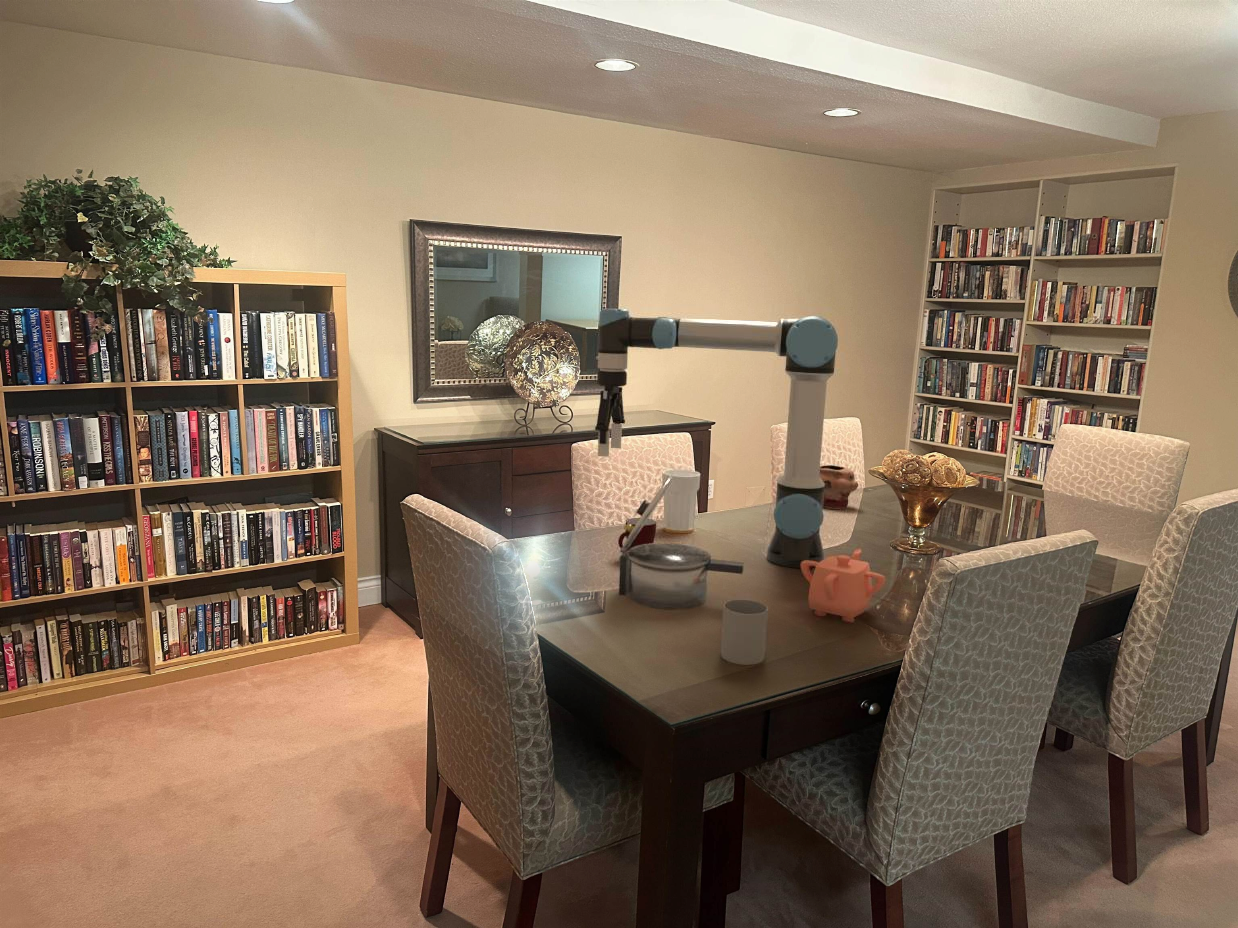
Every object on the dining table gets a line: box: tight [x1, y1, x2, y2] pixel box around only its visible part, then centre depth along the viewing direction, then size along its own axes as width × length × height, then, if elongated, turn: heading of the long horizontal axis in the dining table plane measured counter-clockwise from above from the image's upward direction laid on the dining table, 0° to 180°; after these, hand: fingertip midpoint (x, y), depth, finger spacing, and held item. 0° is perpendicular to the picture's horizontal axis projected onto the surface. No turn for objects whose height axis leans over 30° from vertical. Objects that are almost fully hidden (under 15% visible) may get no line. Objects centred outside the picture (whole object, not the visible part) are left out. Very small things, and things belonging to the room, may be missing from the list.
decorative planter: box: [819, 464, 859, 510], centre depth 300 cm, size 20×12×14 cm, turn 58°
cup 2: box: [720, 598, 769, 666], centre depth 169 cm, size 8×8×10 cm
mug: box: [617, 517, 657, 551], centre depth 230 cm, size 11×8×10 cm
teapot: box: [800, 548, 887, 623], centre depth 195 cm, size 17×16×13 cm
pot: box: [618, 542, 745, 611], centre depth 201 cm, size 28×19×10 cm
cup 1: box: [661, 468, 701, 534], centre depth 261 cm, size 11×11×17 cm
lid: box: [620, 476, 674, 554], centre depth 200 cm, size 20×19×3 cm
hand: (609, 452), depth 227 cm, fingers open, 13 cm apart
